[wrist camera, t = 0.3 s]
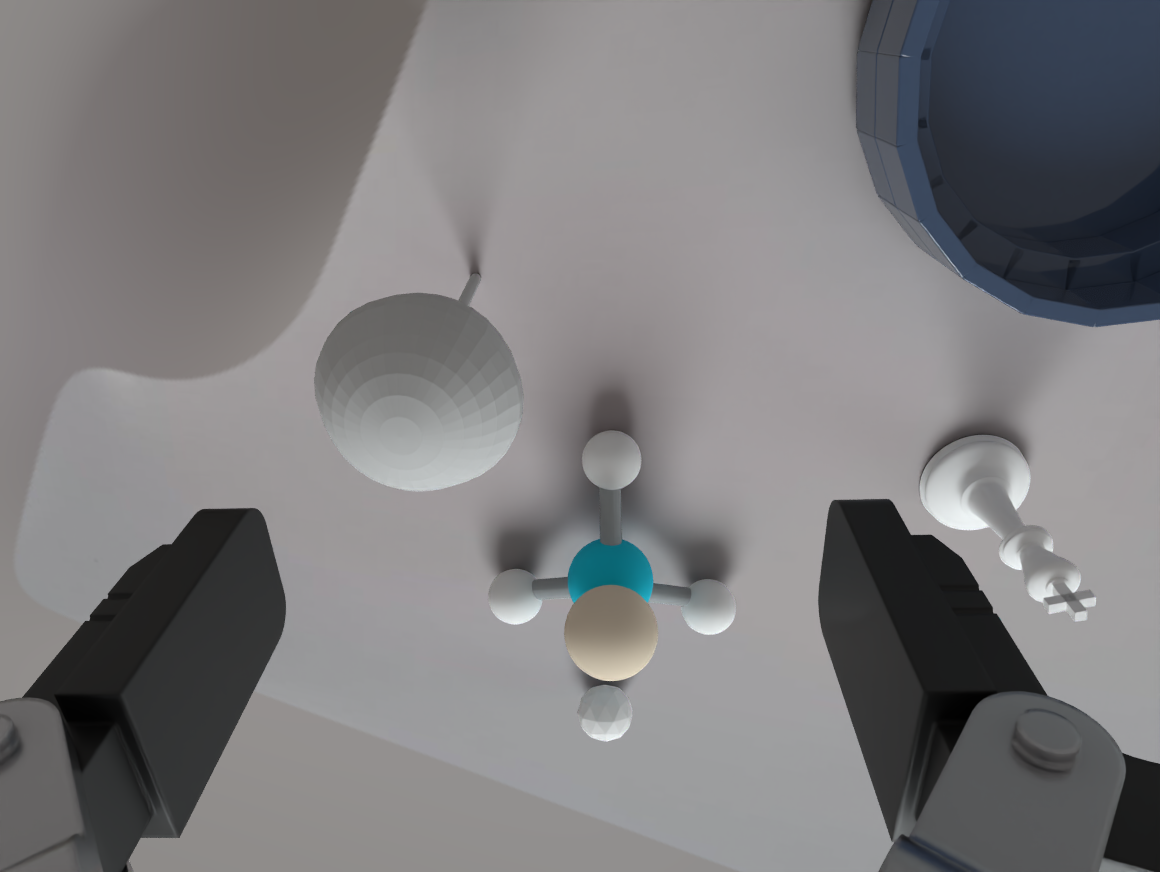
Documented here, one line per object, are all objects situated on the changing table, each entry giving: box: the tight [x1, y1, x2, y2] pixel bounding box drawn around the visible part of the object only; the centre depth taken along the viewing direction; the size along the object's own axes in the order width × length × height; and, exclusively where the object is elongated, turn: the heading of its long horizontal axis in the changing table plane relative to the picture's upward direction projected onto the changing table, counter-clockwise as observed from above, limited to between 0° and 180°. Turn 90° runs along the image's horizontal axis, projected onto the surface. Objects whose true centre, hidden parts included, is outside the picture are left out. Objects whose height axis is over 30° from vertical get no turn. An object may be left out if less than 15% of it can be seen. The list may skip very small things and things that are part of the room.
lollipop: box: [314, 273, 524, 491], centre depth 29 cm, size 6×6×15 cm
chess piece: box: [920, 435, 1096, 622], centre depth 35 cm, size 5×5×10 cm
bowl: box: [856, 0, 1160, 327], centre depth 29 cm, size 17×17×6 cm
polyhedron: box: [578, 685, 633, 742], centre depth 45 cm, size 3×3×3 cm
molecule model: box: [488, 430, 736, 681], centre depth 37 cm, size 12×12×9 cm
